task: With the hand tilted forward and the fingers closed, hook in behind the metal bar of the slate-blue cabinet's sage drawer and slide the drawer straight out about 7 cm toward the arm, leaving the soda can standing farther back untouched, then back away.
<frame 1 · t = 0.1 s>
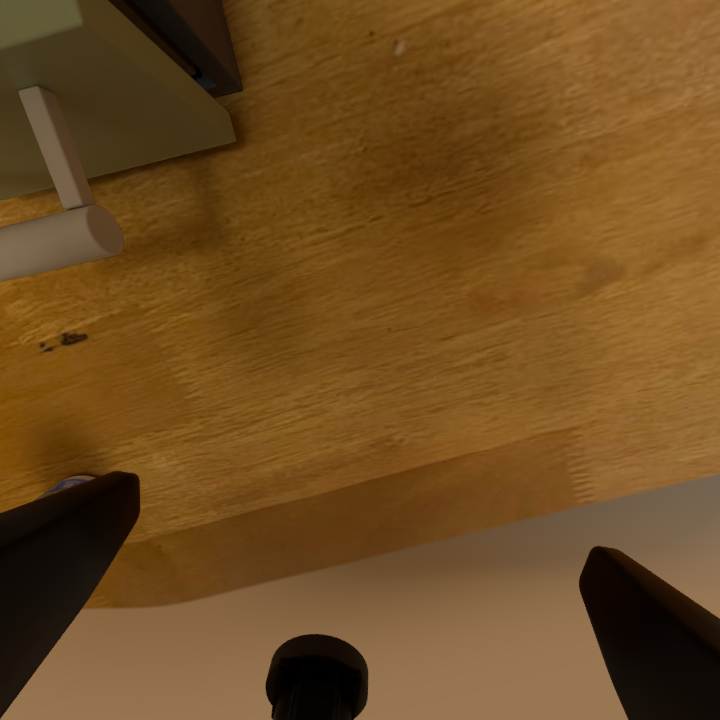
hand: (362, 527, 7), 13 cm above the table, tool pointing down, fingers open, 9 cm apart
pill bottle: (94, 504, 23), on the table
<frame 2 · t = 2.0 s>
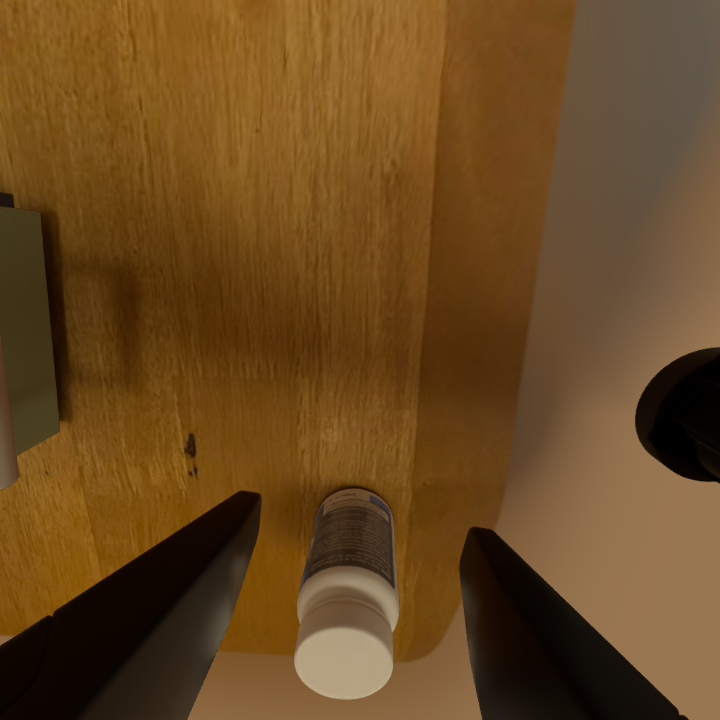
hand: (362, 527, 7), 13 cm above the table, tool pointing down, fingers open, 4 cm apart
pill bottle: (355, 517, 23), on the table
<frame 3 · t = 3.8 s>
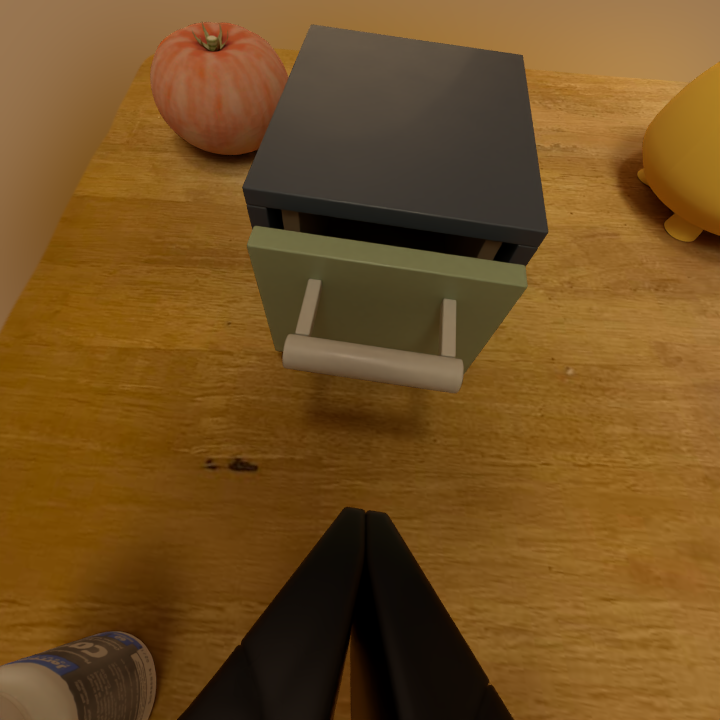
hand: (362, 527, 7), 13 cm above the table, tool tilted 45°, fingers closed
cabinet: (382, 259, 28), on the table
drawer: (384, 257, 21), point 5 cm above the table, slide at 1.0 cm
tomato: (235, 140, 34), on the table
pill bottle: (102, 695, 16), on the table
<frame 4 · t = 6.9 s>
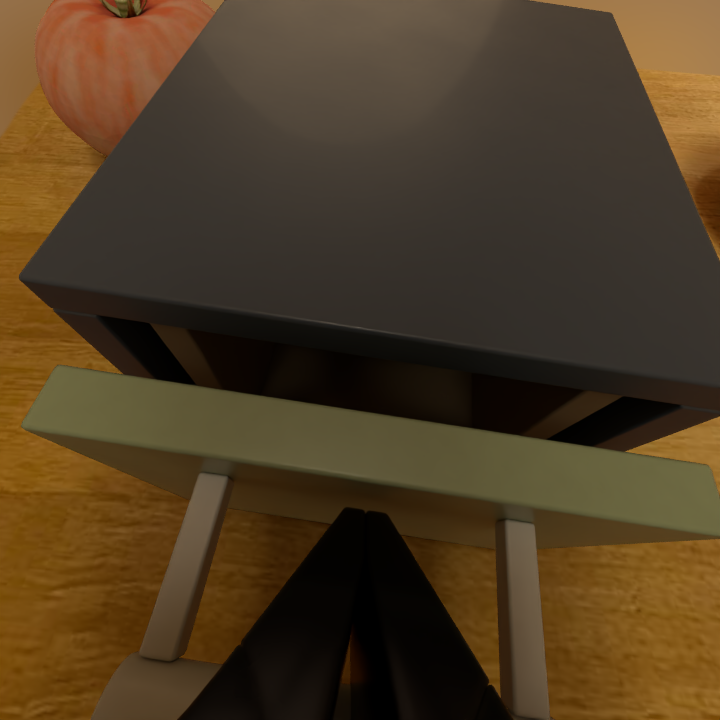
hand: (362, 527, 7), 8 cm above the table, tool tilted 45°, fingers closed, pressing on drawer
cabinet: (376, 326, 19), on the table
drawer: (377, 360, 12), point 5 cm above the table, slide at 1.0 cm, touching gripper
tomato: (177, 149, 25), on the table
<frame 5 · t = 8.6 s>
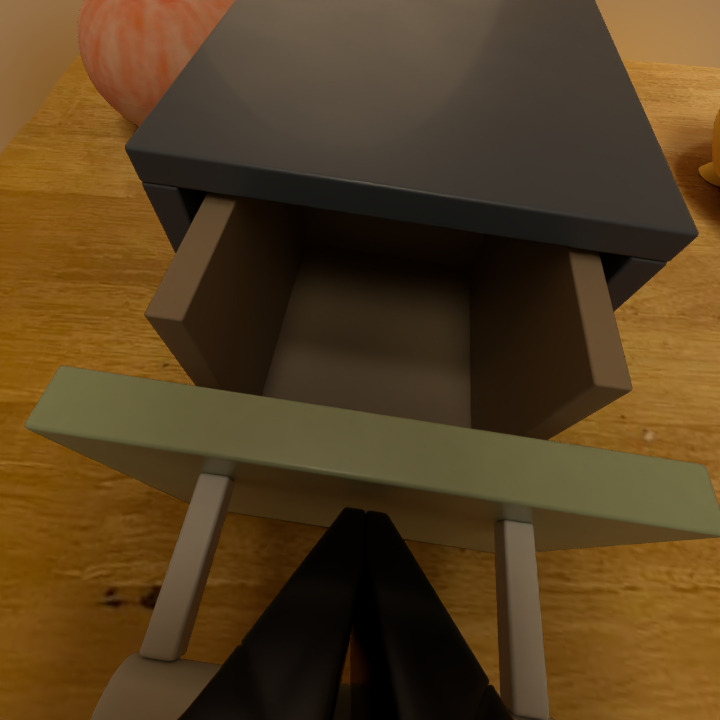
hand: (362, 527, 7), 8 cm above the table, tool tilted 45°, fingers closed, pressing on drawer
cabinet: (383, 274, 21), on the table
drawer: (376, 363, 12), point 5 cm above the table, slide at 4.9 cm, touching gripper
tomato: (199, 124, 27), on the table
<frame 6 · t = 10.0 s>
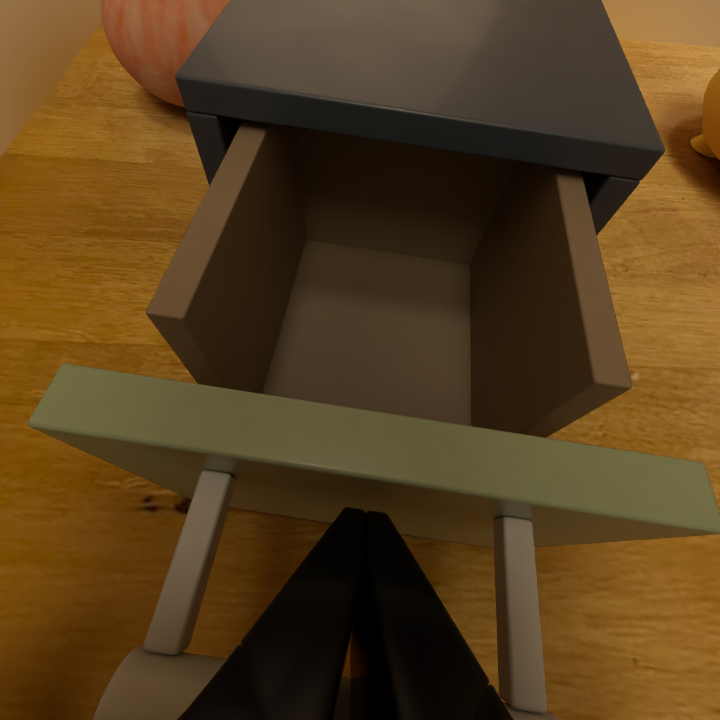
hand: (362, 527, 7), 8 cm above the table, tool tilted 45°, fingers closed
cabinet: (389, 233, 23), on the table
drawer: (377, 360, 12), point 5 cm above the table, slide at 7.8 cm
tomato: (212, 97, 28), on the table
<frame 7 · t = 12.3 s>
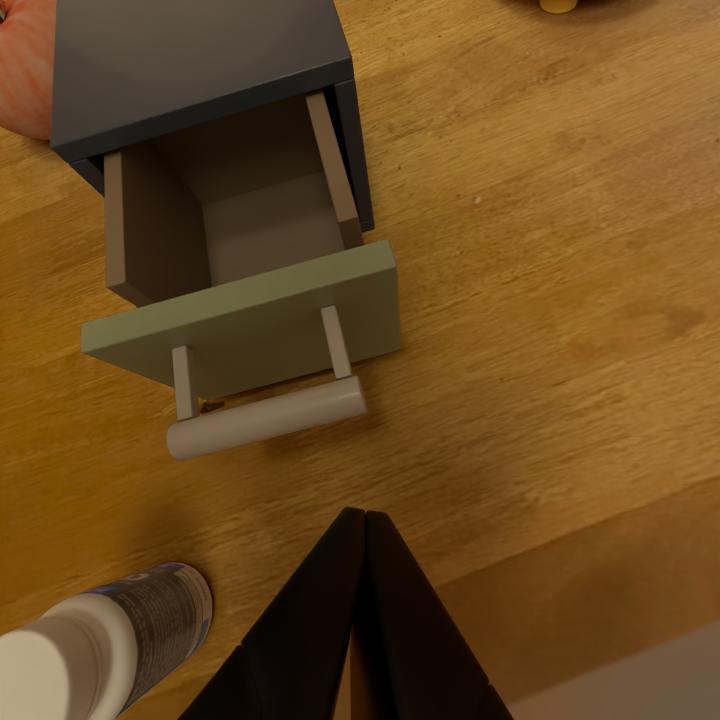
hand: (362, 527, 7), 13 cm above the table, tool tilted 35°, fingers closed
cabinet: (266, 170, 28), on the table
drawer: (263, 266, 19), point 5 cm above the table, slide at 7.8 cm
tomato: (82, 116, 32), on the table
pill bottle: (173, 610, 20), on the table
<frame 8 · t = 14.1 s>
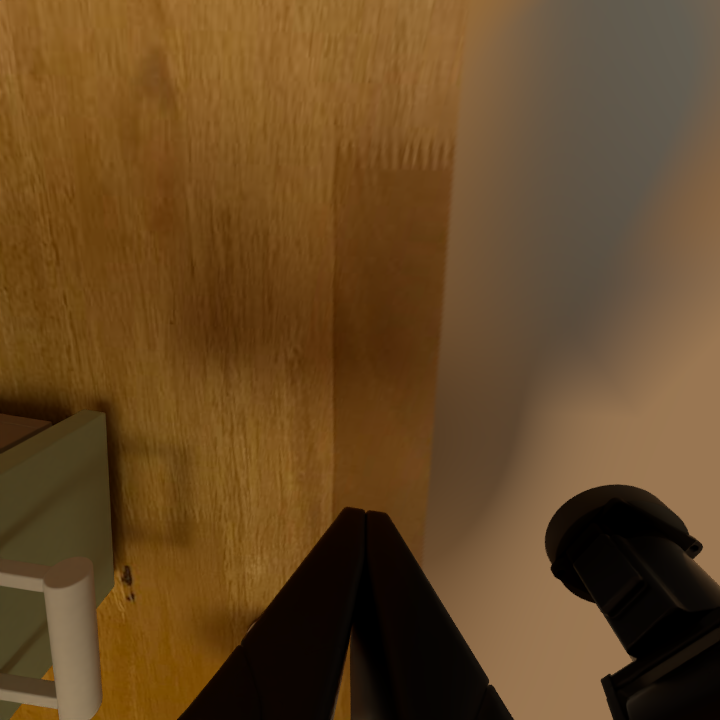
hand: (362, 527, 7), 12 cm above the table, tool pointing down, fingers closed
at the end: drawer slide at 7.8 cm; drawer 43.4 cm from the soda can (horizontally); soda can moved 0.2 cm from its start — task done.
